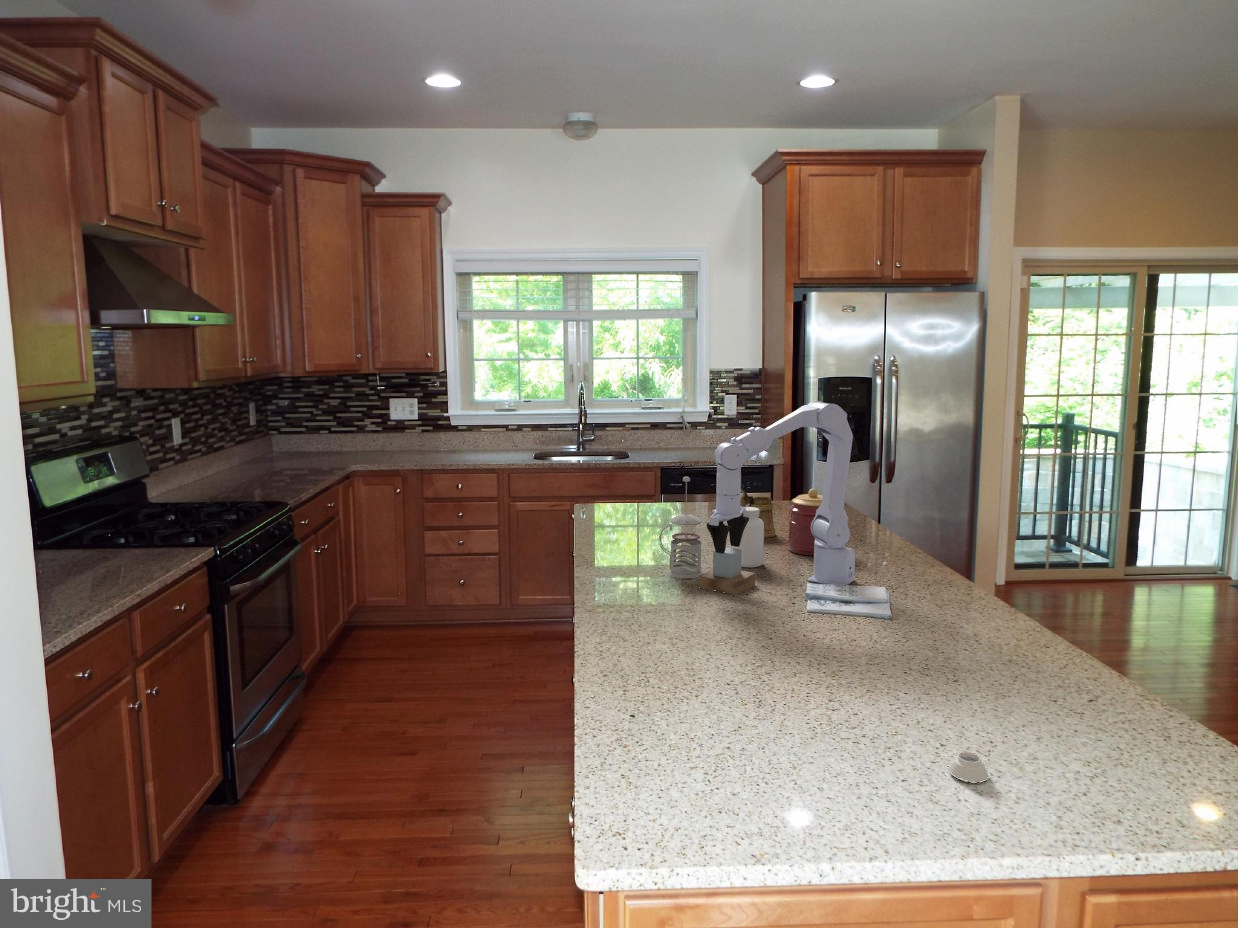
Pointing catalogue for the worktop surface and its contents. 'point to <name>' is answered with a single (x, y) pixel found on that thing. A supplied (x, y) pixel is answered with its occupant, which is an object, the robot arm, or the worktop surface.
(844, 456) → the robot arm
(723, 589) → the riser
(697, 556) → the french press
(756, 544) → the pill bottle
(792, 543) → the canister
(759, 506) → the brass mortar and pestle
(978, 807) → the worktop surface
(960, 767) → the upturned beige bowl
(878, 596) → the white bicycle print cloth
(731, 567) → the slate cube
